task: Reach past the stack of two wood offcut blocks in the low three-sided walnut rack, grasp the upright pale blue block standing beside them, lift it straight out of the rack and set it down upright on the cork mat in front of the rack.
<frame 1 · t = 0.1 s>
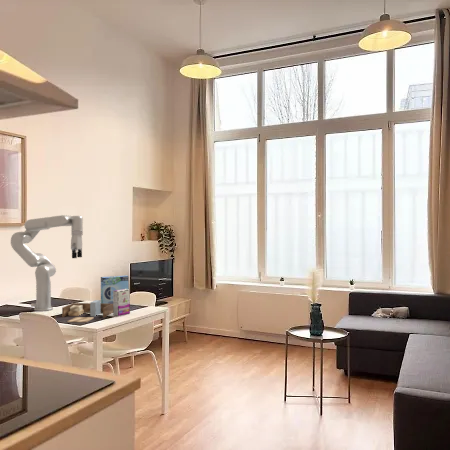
hand: (76, 257, 325), 37 cm above the table, tool pointing down, fingers open, 9 cm apart
pale blue block: (95, 314, 307), on the table
rack: (88, 314, 308), on the table
blue cardboard box: (114, 308, 333), on the table
candy bar box: (121, 314, 308), on the table
mat: (80, 320, 290), on the table
oak offcut: (76, 315, 308), on the table, touching birch offcut
birch offcut: (76, 310, 309), point 3 cm above the table, touching oak offcut
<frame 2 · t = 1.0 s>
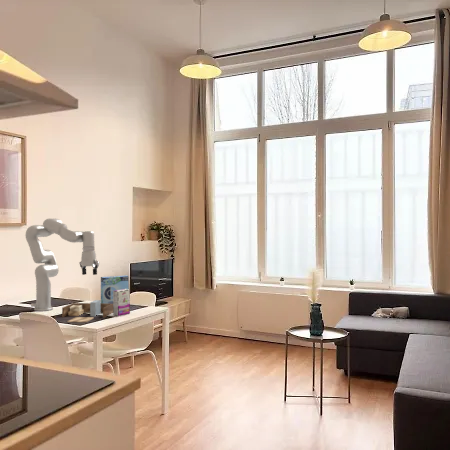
hand: (89, 274, 314), 26 cm above the table, tool pointing down, fingers open, 9 cm apart
nothing on the table moved.
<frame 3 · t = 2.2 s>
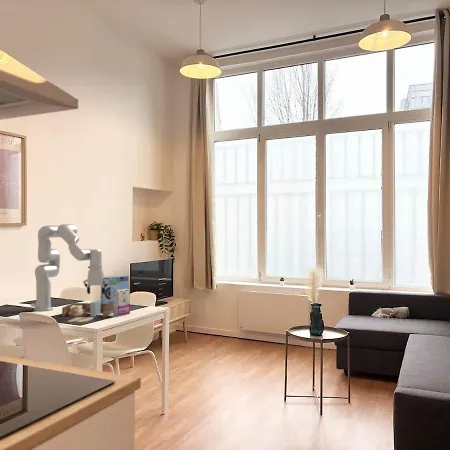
hand: (96, 293, 307), 14 cm above the table, tool pointing down, fingers open, 9 cm apart
nothing on the table moved.
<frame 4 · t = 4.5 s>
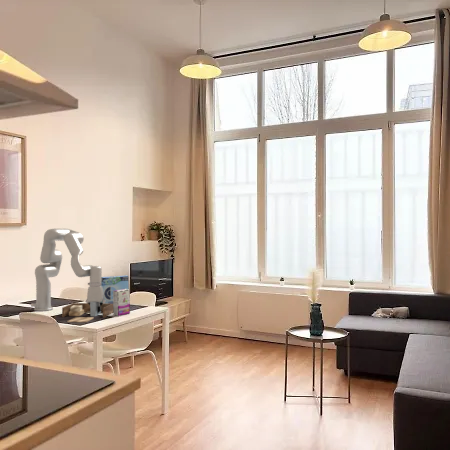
hand: (95, 312, 307), 2 cm above the table, tool pointing down, fingers closed on pale blue block, 3 cm apart
pale blue block: (95, 314, 307), on the table, touching gripper
everything else where it was.
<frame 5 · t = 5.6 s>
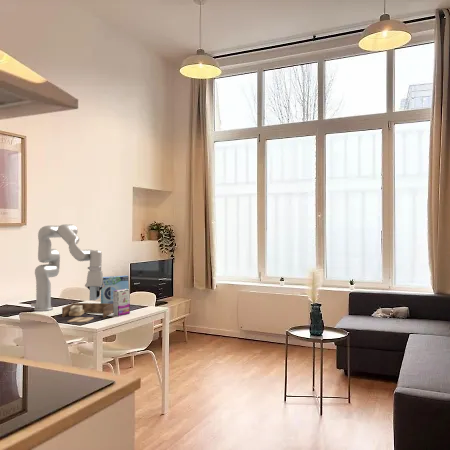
hand: (94, 296, 308), 12 cm above the table, tool pointing down, fingers closed on pale blue block, 3 cm apart
pale blue block: (94, 299, 308), point 10 cm above the table, touching gripper
oak offcut: (76, 315, 308), on the table
birch offcut: (76, 310, 308), point 2 cm above the table
everything else where it was.
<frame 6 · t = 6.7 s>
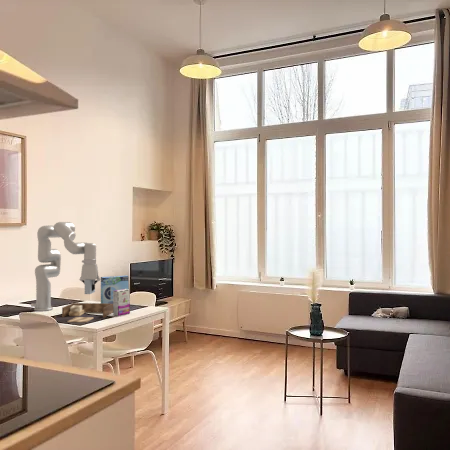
hand: (89, 290, 300), 17 cm above the table, tool pointing down, fingers closed on pale blue block, 3 cm apart
pale blue block: (89, 293, 300), point 15 cm above the table, touching gripper
oak offcut: (76, 315, 308), on the table, touching birch offcut
birch offcut: (76, 310, 308), point 2 cm above the table, touching oak offcut
everything else where it was.
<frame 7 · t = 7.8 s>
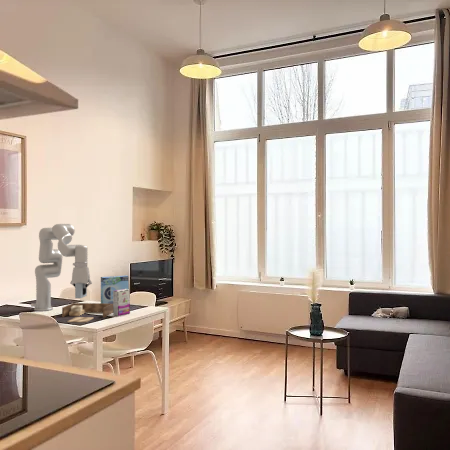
hand: (81, 294, 290), 16 cm above the table, tool pointing down, fingers closed on pale blue block, 3 cm apart
pale blue block: (81, 297, 290), point 14 cm above the table, touching gripper
everything else where it was.
when the fingers open (2 cm above the table, at t = 10.9 s): pale blue block stays where it is, resting on mat.
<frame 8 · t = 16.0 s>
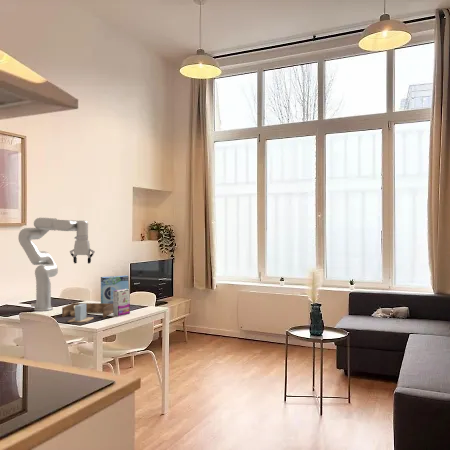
hand: (82, 263, 318), 33 cm above the table, tool pointing down, fingers open, 9 cm apart
pale blue block: (80, 319, 290), resting on mat
birch offcut: (78, 310, 308), point 3 cm above the table, touching oak offcut
at the end: pale blue block 0.2 cm from the mat (horizontally); pale blue block tilted 0°; the gripper is holding nothing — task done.
